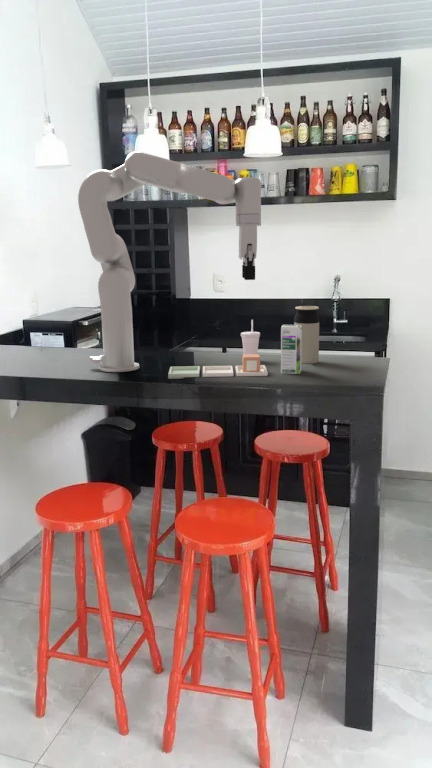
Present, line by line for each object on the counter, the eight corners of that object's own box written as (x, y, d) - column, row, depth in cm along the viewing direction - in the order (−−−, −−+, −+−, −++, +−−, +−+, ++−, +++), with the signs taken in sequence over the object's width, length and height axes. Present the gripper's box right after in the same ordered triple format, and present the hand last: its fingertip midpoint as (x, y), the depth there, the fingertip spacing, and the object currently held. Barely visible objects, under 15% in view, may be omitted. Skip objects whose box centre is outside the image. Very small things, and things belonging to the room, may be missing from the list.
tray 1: (168, 378, 189) (168, 373, 189) (170, 371, 200) (170, 366, 199) (199, 378, 189) (199, 373, 189) (199, 370, 200) (199, 366, 200)
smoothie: (258, 364, 209) (258, 320, 206) (239, 363, 211) (239, 320, 208) (261, 360, 216) (261, 318, 213) (242, 360, 217) (242, 318, 214)
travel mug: (314, 359, 216) (315, 305, 212) (321, 364, 208) (322, 307, 204) (290, 360, 215) (291, 306, 211) (297, 365, 207) (298, 308, 203)
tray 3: (236, 377, 189) (236, 372, 189) (235, 370, 200) (235, 365, 200) (267, 377, 189) (267, 372, 189) (264, 369, 200) (264, 365, 200)
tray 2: (202, 378, 189) (202, 373, 189) (203, 370, 200) (202, 366, 200) (233, 377, 189) (233, 372, 189) (232, 370, 200) (232, 365, 200)
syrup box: (280, 374, 193) (280, 326, 189) (282, 371, 198) (283, 323, 195) (299, 375, 191) (300, 326, 188) (301, 371, 197) (302, 324, 194)
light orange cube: (243, 374, 192) (243, 357, 191) (242, 370, 197) (242, 354, 196) (260, 373, 192) (260, 357, 191) (258, 370, 197) (258, 354, 196)
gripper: (234, 221, 202) (234, 277, 206) (237, 220, 185) (237, 280, 189) (258, 221, 202) (258, 277, 206) (263, 219, 185) (263, 280, 189)
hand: (248, 278), depth 197 cm, fingers open, 9 cm apart
